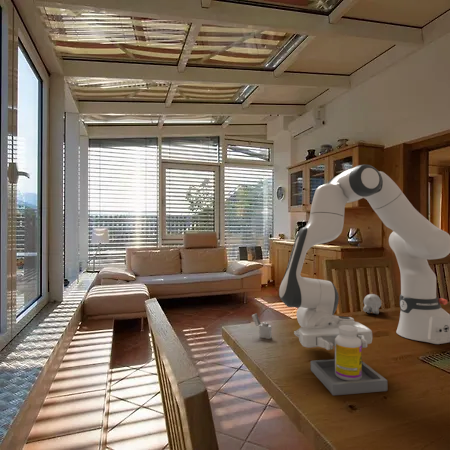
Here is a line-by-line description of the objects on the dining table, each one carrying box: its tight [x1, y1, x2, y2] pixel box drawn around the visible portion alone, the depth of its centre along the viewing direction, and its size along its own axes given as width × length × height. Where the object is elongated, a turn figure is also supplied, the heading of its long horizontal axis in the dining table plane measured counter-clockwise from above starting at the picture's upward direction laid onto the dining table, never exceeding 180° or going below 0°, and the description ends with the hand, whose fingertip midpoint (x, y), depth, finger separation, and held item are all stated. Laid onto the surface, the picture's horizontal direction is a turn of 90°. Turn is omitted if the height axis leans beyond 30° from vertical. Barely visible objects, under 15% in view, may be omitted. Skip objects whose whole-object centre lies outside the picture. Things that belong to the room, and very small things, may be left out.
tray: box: [310, 358, 388, 396], centre depth 89 cm, size 14×14×3 cm
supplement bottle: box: [334, 325, 363, 381], centre depth 89 cm, size 7×7×13 cm
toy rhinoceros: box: [362, 293, 382, 315], centre depth 152 cm, size 7×12×8 cm, turn 143°
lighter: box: [251, 313, 272, 340], centre depth 123 cm, size 7×2×8 cm, turn 59°
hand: (347, 345), depth 88 cm, fingers open, 8 cm apart
